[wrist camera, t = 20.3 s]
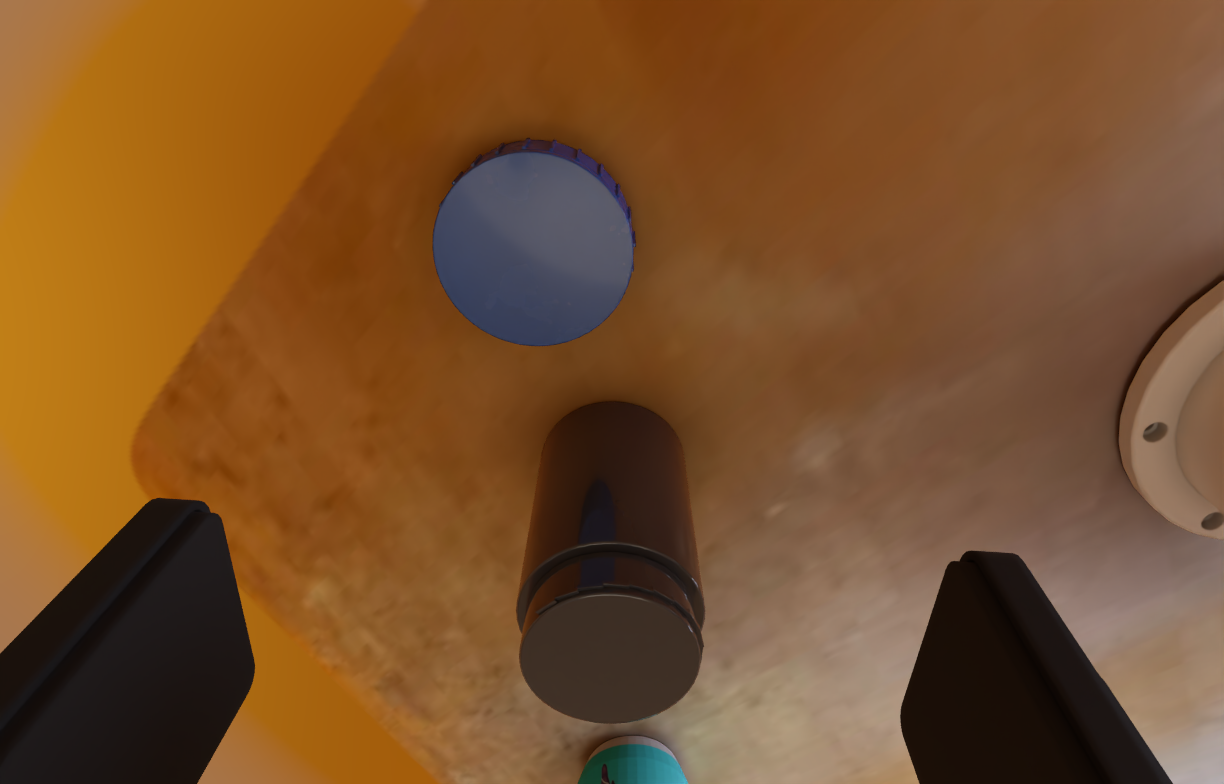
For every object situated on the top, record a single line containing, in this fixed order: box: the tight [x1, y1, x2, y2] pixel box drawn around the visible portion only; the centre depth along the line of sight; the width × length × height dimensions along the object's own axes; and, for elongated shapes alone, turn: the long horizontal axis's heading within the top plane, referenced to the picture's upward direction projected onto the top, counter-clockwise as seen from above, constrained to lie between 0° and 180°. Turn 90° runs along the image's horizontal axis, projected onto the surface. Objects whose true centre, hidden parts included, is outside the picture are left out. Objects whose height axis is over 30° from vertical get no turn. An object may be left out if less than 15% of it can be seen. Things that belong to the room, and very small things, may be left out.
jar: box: [516, 402, 705, 723], centre depth 26 cm, size 6×6×10 cm
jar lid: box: [433, 138, 636, 346], centre depth 26 cm, size 7×7×2 cm
